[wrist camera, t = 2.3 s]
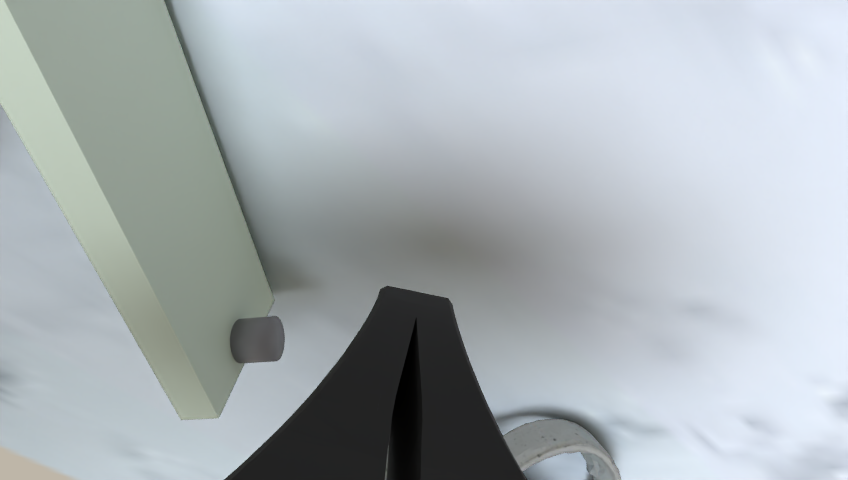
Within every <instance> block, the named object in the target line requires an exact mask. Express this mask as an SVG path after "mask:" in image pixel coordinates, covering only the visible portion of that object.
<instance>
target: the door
mask: <svg viewBox="0 0 848 480" xmlns="http://www.w3.org/2000/svg"><path fill="white" fill-rule="evenodd" d="M0 104H1V105H2V107H3V109H4V111H5V112H6V114H7V116H8V118H9V119H10V121H11V123H12V125H13V126H14V128H15V130H16V132H17V133H18V135H19V137H20V139H21V140H22V142H23V144H24V146H25V147H26V149H27V151H28V153H29V154H30V156H31V158H32V160H33V161H34V163H35V165H36V167H37V168H38V170H39V172H40V174H41V175H42V177H43V179H44V181H45V183H46V184H47V186H48V188H49V190H50V191H51V193H52V195H53V197H54V198H55V200H56V202H57V204H58V205H59V207H60V209H61V211H62V212H63V214H64V216H65V218H66V219H67V221H68V223H69V225H70V226H71V228H72V230H73V232H74V233H75V235H76V237H77V239H78V240H79V242H80V244H81V246H82V247H83V249H84V251H85V253H86V254H87V256H88V258H89V260H90V261H91V263H92V265H93V267H94V268H95V270H96V272H97V274H98V275H99V277H100V279H101V281H102V282H103V284H104V286H105V288H106V289H107V291H108V293H109V295H110V296H111V298H112V300H113V302H114V303H115V305H116V307H117V309H118V310H119V312H120V314H121V316H122V317H123V319H124V321H125V323H126V324H127V326H128V328H129V330H130V332H131V333H132V335H133V337H134V339H135V340H136V342H137V344H138V346H139V347H140V349H141V351H142V353H143V354H144V356H145V358H146V360H147V361H148V363H149V365H150V367H151V368H152V370H153V372H154V374H155V375H156V377H157V379H158V381H159V382H160V384H161V386H162V388H163V389H164V391H165V393H166V395H167V396H168V398H169V400H170V402H171V403H172V405H173V407H174V409H175V410H176V412H177V414H178V416H179V417H180V419H181V420H191V419H213V418H219V417H220V415H221V413H222V410H223V408H224V406H225V404H226V402H227V400H228V398H229V396H230V393H231V391H232V389H233V387H234V385H235V383H236V381H237V379H238V376H239V374H240V372H241V370H242V368H243V366H244V364H245V363H254V362H271V361H278V360H279V359H280V358H281V356H282V353H283V350H284V342H285V336H284V329H283V325H282V322H281V320H280V319H279V318H278V317H277V316H270V317H267V315H268V313H269V311H270V309H271V307H272V304H273V302H274V298H273V295H272V292H271V290H270V287H269V284H268V281H267V279H266V276H265V273H264V271H263V268H262V265H261V262H260V260H259V257H258V254H257V251H256V249H255V246H254V243H253V241H252V238H251V235H250V232H249V230H248V227H247V224H246V222H245V219H244V216H243V213H242V211H241V208H240V205H239V203H238V200H237V197H236V194H235V192H234V189H233V186H232V184H231V181H230V178H229V175H228V173H227V170H226V167H225V165H224V162H223V159H222V156H221V154H220V151H219V148H218V145H217V143H216V140H215V137H214V135H213V132H212V129H211V126H210V124H209V121H208V118H207V116H206V113H205V110H204V107H203V105H202V102H201V99H200V97H199V94H198V91H197V88H196V86H195V83H194V80H193V78H192V75H191V72H190V69H189V67H188V64H187V61H186V59H185V56H184V53H183V50H182V48H181V45H180V42H179V39H178V37H177V34H176V31H175V29H174V26H173V23H172V20H171V18H170V15H169V12H168V10H167V7H166V4H165V1H164V0H0Z"/></svg>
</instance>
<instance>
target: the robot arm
mask: <svg viewBox="0 0 848 480" xmlns="http://www.w3.org/2000/svg"><path fill="white" fill-rule="evenodd" d="M388 446H389V447H388ZM387 454H388V463H387ZM386 463H387V479H386V480H527V479H526V477H525V476H524V474H523V472H522V470H521V469H520V467H519V465H518V463H517V462H516V460H515V458H514V456H513V454H512V453H511V451H510V449H509V447H508V445H507V443H506V441H505V439H504V437H503V435H502V433H501V431H500V430H499V427H498V425H497V423H496V421H495V419H494V417H493V415H492V413H491V411H490V409H489V407H488V404H487V402H486V400H485V397H484V395H483V393H482V391H481V388H480V386H479V383H478V381H477V378H476V376H475V373H474V371H473V368H472V366H471V363H470V361H469V358H468V355H467V353H466V350H465V347H464V344H463V341H462V338H461V335H460V332H459V328H458V325H457V322H456V318H455V314H454V310H453V305H452V303H451V302H450V300H449V299H448V298H444V297H439V296H434V295H429V294H424V293H420V292H415V291H410V290H405V289H400V288H396V287H391V286H386V287H384V288H382V289H380V292H379V295H378V298H377V300H376V302H375V305H374V307H373V309H372V311H371V312H370V314H369V316H368V318H367V319H366V321H365V323H364V324H363V326H362V328H361V329H360V331H359V332H358V334H357V335H356V337H355V338H354V340H353V341H352V342H351V344H350V345H349V347H348V348H347V350H346V351H345V353H344V354H343V355H342V357H341V358H340V359H339V361H338V362H337V363H336V364H335V366H334V367H333V368H332V369H331V371H330V372H329V373H328V374H327V376H326V377H325V378H324V379H323V381H322V382H321V383H320V384H319V385H318V387H317V388H316V389H315V390H314V391H313V393H312V394H311V395H310V396H309V397H308V398H307V399H306V401H305V402H304V403H303V404H302V405H301V406H300V407H299V408H298V409H297V410H296V412H295V413H294V414H293V415H292V416H291V417H290V418H289V419H288V420H287V421H286V422H285V423H284V424H283V425H282V426H281V427H280V428H279V429H278V430H277V431H276V432H275V433H274V434H273V435H272V436H271V437H270V438H269V439H268V440H267V441H266V442H265V443H264V444H263V445H262V446H261V447H260V448H258V449H257V450H256V451H255V452H254V453H253V454H252V455H251V456H250V457H249V458H248V459H247V460H246V461H245V462H244V463H242V464H241V465H240V466H239V467H238V468H237V469H236V470H235V471H234V472H232V473H231V474H230V475H229V476H228V477H227V478H225V479H224V480H385V472H386Z"/></svg>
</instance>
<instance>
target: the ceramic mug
mask: <svg viewBox="0 0 848 480" xmlns="http://www.w3.org/2000/svg"><path fill="white" fill-rule="evenodd" d="M503 437H504V439H505V441H506V443H507V445H508V447H509V449H510V451H511V453H512V454H513V456H514V458H515V460H516V462H517V463H518V465H519V467H520V469H521V470H522V472H523V471H524V470H526V469H527V468H529V467H530V466H532V465H534V464H536V463H538V462H540V461H542V460H544V459H547V458H550V457H553V456H556V455H559V454H562V453H575V452H581V454H582V455H583V457H584V459H585V460H586V464H587V470H588V472H589V474H591V475H593V478H592V480H621V477H620V474H619V470H618V468H617V467H616V465H615V463H614V461H613V459H612V458H611V457H610V455H609V454H608V453H607V452H606V451H605V449H604V448H603V447H602V446H601V445H600V444H599V443H598V441H597V440H596V439H595V438H594V437H593V435H592V434H591V433H590V432H588V431H587V430H586V429H584V428H583V427H581V426H580V425H578V424H577V423H574V422H571V421H567V420H562V419H544V420H538V421H535V422H531V423H526V424H524V425H522V426H520V427H517V428H515V429H514V430H512V431H510V432H509V433H507V434H505V435H504V436H503ZM387 463H388V454H387ZM387 463H386V472H385V480H386V479H387Z"/></svg>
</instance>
